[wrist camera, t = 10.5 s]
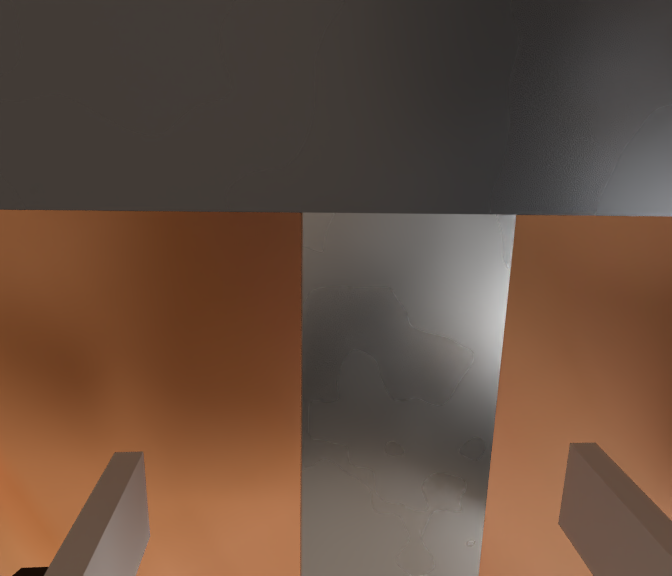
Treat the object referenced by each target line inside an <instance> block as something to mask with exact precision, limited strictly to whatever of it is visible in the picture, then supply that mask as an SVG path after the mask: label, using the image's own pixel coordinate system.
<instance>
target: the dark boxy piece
mask: <svg viewBox="0 0 672 576" xmlns="http://www.w3.org/2000/svg"><path fill="white" fill-rule="evenodd" d="M0 209H4V210H102V211H201V212H299V213H398V214H496V215H595V216H672V0H0Z"/></svg>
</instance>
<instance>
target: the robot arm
mask: <svg viewBox="0 0 672 576" xmlns="http://www.w3.org/2000/svg"><path fill="white" fill-rule="evenodd" d="M558 524H559V525H560V527H561V528H562V530H563V531H564V533H565V534H566V536H567V537H568V539H569V540H570V542H571V543H572V545H573V546H574V548H575V549H576V550H577V552H578V553H579V555H580V556H581V558H582V559H583V561H584V562H585V564H586V565H587V567H588V568H589V570H590V571H591V573H592V574H593V576H672V521H671V520H670V519H669V518H668V517H667V516H666V515H665V514H664V513H663V512H662V511H661V510H660V508H659V507H658V506H657V505H656V504H655V503H654V502H653V501H652V500H651V499H650V498H649V497H648V496H647V495H646V494H645V493H644V492H643V491H642V490H641V489H640V488H639V487H638V486H637V485H636V484H635V483H634V482H633V481H632V480H631V479H630V478H629V477H628V476H627V475H626V474H625V473H624V472H623V470H622V469H621V468H620V467H619V466H618V465H617V464H616V463H615V462H614V461H613V460H612V459H611V458H610V457H609V456H608V455H607V454H606V453H605V452H604V451H603V450H602V449H601V448H600V447H599V446H598V445H597V444H596V443H570V447H569V454H568V461H567V468H566V474H565V481H564V488H563V495H562V502H561V509H560V515H559V522H558ZM149 538H150V528H149V516H148V504H147V491H146V479H145V467H144V455H143V452H115V453H114V455H113V456H112V458H111V460H110V462H109V463H108V465H107V467H106V469H105V470H104V472H103V474H102V475H101V477H100V479H99V481H98V482H97V484H96V486H95V488H94V489H93V491H92V493H91V495H90V496H89V498H88V500H87V502H86V503H85V505H84V507H83V509H82V510H81V512H80V514H79V515H78V517H77V519H76V521H75V522H74V524H73V526H72V528H71V529H70V531H69V533H68V535H67V536H66V538H65V540H64V542H63V543H62V545H61V547H60V549H59V550H58V552H57V554H56V555H55V557H54V559H53V561H52V562H51V564H50V566H49V567H33V568H21V569H20V570H19V571H17V572H16V573H15V574H14V575H13V576H136V573H137V571H138V568H139V565H140V562H141V560H142V557H143V554H144V551H145V549H146V546H147V543H148V541H149Z"/></svg>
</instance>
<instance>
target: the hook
mask: <svg viewBox="0 0 672 576" xmlns="http://www.w3.org/2000/svg"><path fill="white" fill-rule="evenodd" d="M515 222H516V215H496V214H398V213H301V508H300V576H478V575H479V565H480V556H481V546H482V537H483V527H484V517H485V508H486V498H487V489H488V479H489V470H490V460H491V451H492V441H493V432H494V422H495V413H496V403H497V394H498V384H499V374H500V365H501V355H502V346H503V336H504V327H505V317H506V308H507V298H508V289H509V279H510V270H511V260H512V251H513V241H514V231H515Z"/></svg>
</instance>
